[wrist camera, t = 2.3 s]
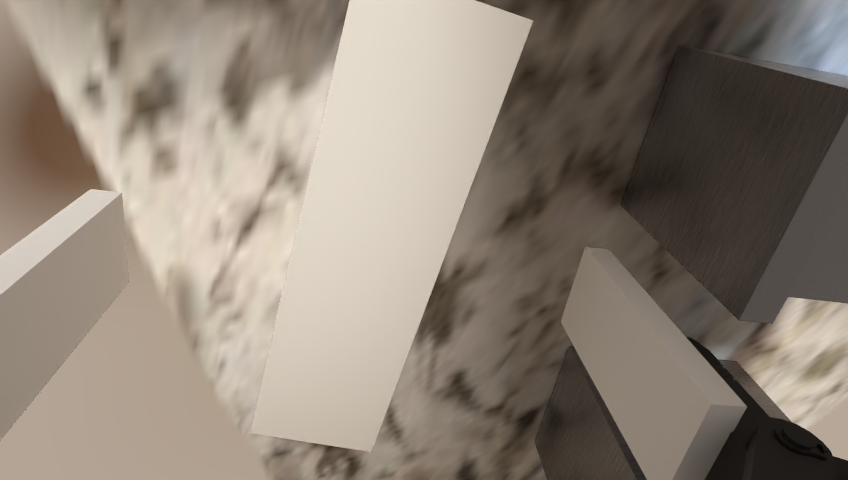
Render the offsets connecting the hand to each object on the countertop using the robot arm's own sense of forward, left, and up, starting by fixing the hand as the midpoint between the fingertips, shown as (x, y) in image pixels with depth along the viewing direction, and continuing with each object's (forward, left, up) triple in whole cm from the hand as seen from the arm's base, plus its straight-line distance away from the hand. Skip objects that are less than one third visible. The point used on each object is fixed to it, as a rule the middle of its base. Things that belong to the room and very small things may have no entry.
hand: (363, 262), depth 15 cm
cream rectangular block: (0, 0, -5) cm, 5 cm away
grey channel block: (-4, +14, -5) cm, 15 cm away
